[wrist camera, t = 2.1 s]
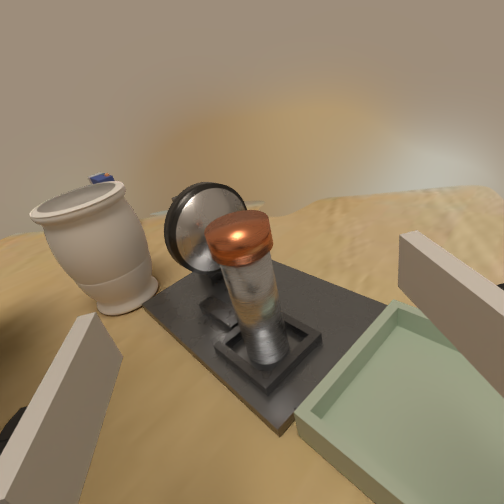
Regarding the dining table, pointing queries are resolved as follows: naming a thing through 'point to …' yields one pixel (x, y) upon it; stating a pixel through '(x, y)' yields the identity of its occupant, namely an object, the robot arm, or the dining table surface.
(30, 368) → the dining table surface
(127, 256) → the jar
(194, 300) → the pulley plate
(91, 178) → the walkman
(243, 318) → the copper-capped metal cylinder
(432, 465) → the tray
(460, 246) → the dining table surface
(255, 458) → the dining table surface
